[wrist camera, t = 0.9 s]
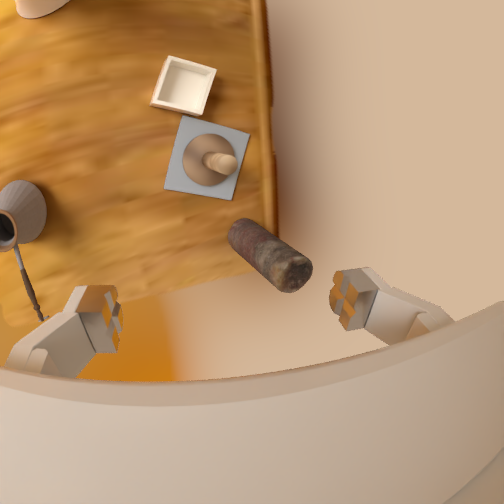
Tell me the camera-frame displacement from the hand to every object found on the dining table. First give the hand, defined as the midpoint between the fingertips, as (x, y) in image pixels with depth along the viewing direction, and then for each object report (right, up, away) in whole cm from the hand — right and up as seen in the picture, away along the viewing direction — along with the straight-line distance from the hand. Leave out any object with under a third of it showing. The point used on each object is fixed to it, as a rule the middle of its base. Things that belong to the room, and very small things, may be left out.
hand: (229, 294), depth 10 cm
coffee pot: (-40, +5, +28) cm, 49 cm away
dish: (-12, +31, +31) cm, 46 cm away
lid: (-7, +19, +39) cm, 44 cm away
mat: (-8, +19, +40) cm, 45 cm away
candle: (-1, +5, +50) cm, 51 cm away
